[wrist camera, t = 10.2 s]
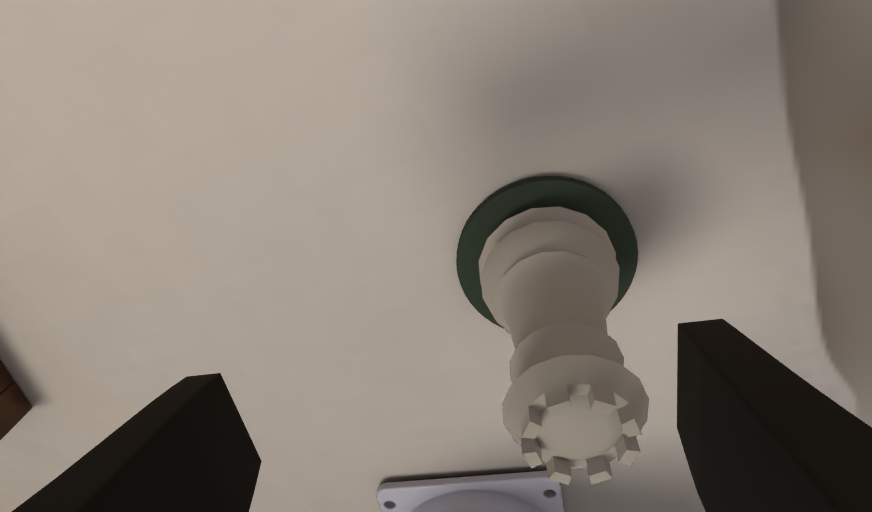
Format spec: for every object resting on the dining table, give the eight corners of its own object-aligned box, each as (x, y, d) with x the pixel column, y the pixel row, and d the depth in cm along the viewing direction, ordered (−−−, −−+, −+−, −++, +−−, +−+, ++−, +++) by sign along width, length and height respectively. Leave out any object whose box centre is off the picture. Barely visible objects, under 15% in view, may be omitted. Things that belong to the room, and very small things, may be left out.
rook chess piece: (497, 328, 21) (503, 526, 13) (462, 219, 19) (449, 384, 12) (623, 301, 20) (701, 499, 13) (601, 184, 18) (678, 340, 11)
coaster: (638, 319, 20) (640, 326, 20) (472, 338, 21) (472, 345, 21) (632, 161, 18) (634, 165, 17) (442, 191, 19) (441, 195, 18)
